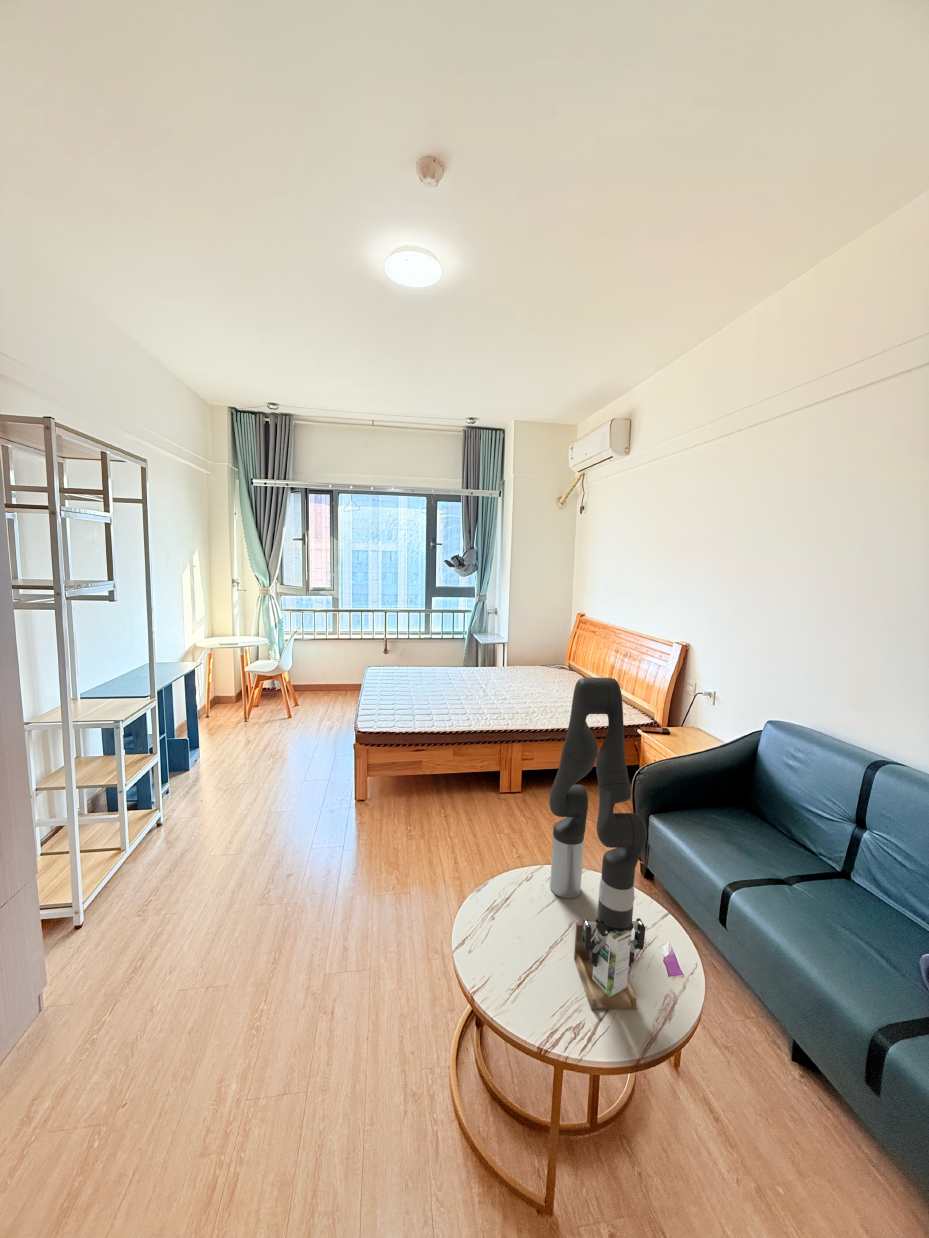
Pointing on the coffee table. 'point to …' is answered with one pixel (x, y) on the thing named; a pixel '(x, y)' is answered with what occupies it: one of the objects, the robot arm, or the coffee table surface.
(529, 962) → the coffee table surface
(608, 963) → the syrup box
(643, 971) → the coffee table surface
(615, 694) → the robot arm
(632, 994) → the book rack
